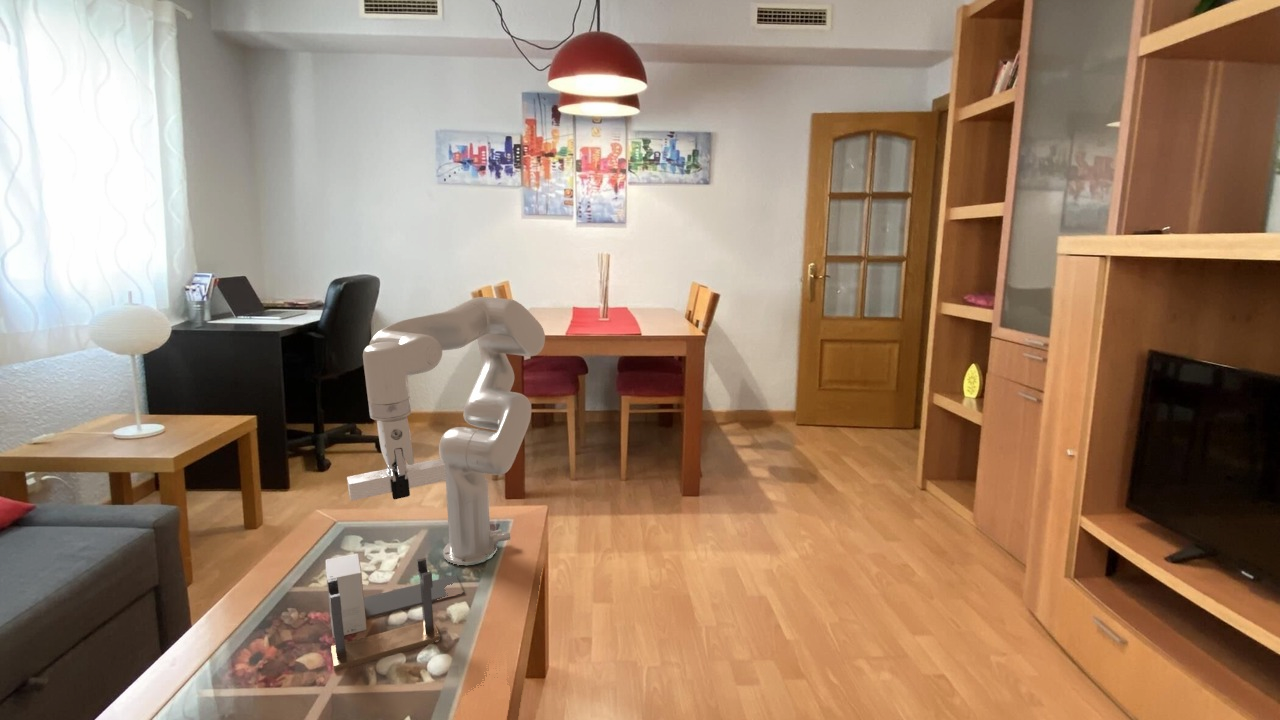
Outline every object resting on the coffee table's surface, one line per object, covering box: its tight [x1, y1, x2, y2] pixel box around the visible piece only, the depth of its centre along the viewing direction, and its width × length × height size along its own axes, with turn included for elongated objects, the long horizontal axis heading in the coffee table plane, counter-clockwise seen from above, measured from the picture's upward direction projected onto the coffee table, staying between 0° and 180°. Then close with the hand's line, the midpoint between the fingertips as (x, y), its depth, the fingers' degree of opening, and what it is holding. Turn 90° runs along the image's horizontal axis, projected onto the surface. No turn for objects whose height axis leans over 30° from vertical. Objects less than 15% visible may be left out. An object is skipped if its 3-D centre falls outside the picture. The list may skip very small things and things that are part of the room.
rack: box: [327, 557, 441, 672], centre depth 131 cm, size 19×6×15 cm, turn 118°
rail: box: [346, 457, 446, 502], centre depth 137 cm, size 18×4×4 cm, turn 118°
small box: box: [325, 553, 367, 639], centre depth 138 cm, size 8×6×13 cm
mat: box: [364, 574, 458, 620], centre depth 148 cm, size 20×7×1 cm, turn 118°
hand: (399, 491), depth 137 cm, fingers closed on rail, 3 cm apart
